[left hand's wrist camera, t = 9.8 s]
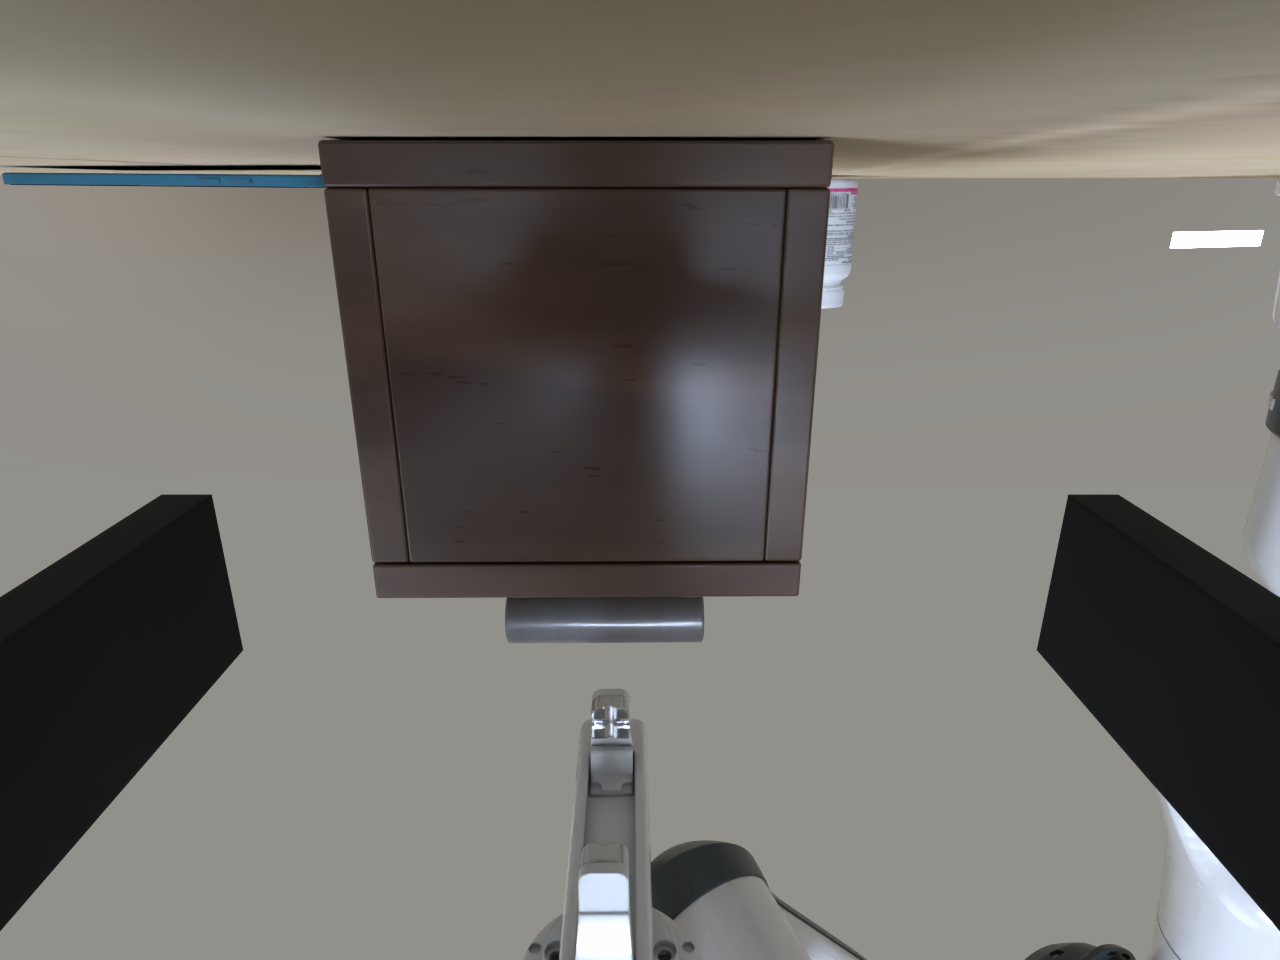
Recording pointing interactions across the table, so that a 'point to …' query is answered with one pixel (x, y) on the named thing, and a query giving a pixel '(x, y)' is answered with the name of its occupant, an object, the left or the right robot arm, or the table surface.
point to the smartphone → (165, 180)
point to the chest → (581, 344)
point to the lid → (593, 594)
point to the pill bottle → (839, 240)
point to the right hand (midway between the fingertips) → (607, 766)
